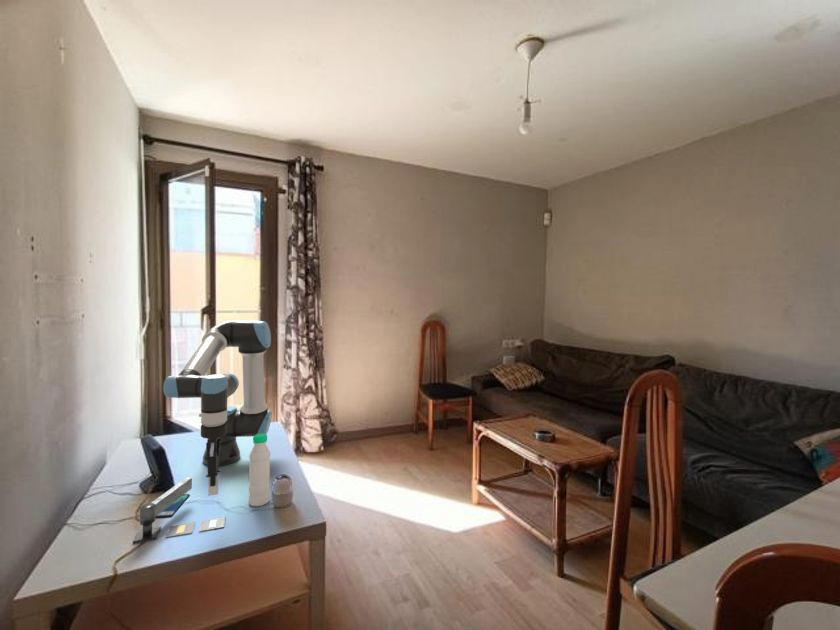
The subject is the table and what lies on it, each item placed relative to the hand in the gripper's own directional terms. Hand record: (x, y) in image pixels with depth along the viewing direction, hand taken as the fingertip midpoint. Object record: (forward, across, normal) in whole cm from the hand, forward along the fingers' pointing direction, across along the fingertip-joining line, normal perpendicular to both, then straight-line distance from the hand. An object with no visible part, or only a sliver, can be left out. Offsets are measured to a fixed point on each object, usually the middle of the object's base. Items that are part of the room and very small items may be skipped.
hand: (213, 493), depth 126 cm
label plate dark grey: (+10, 0, 0) cm, 10 cm away
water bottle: (+11, -10, +14) cm, 20 cm away
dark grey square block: (+10, 0, -18) cm, 21 cm away
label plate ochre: (+10, 0, -9) cm, 14 cm away
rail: (+6, -8, -14) cm, 17 cm away
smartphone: (+11, -17, -15) cm, 25 cm away
